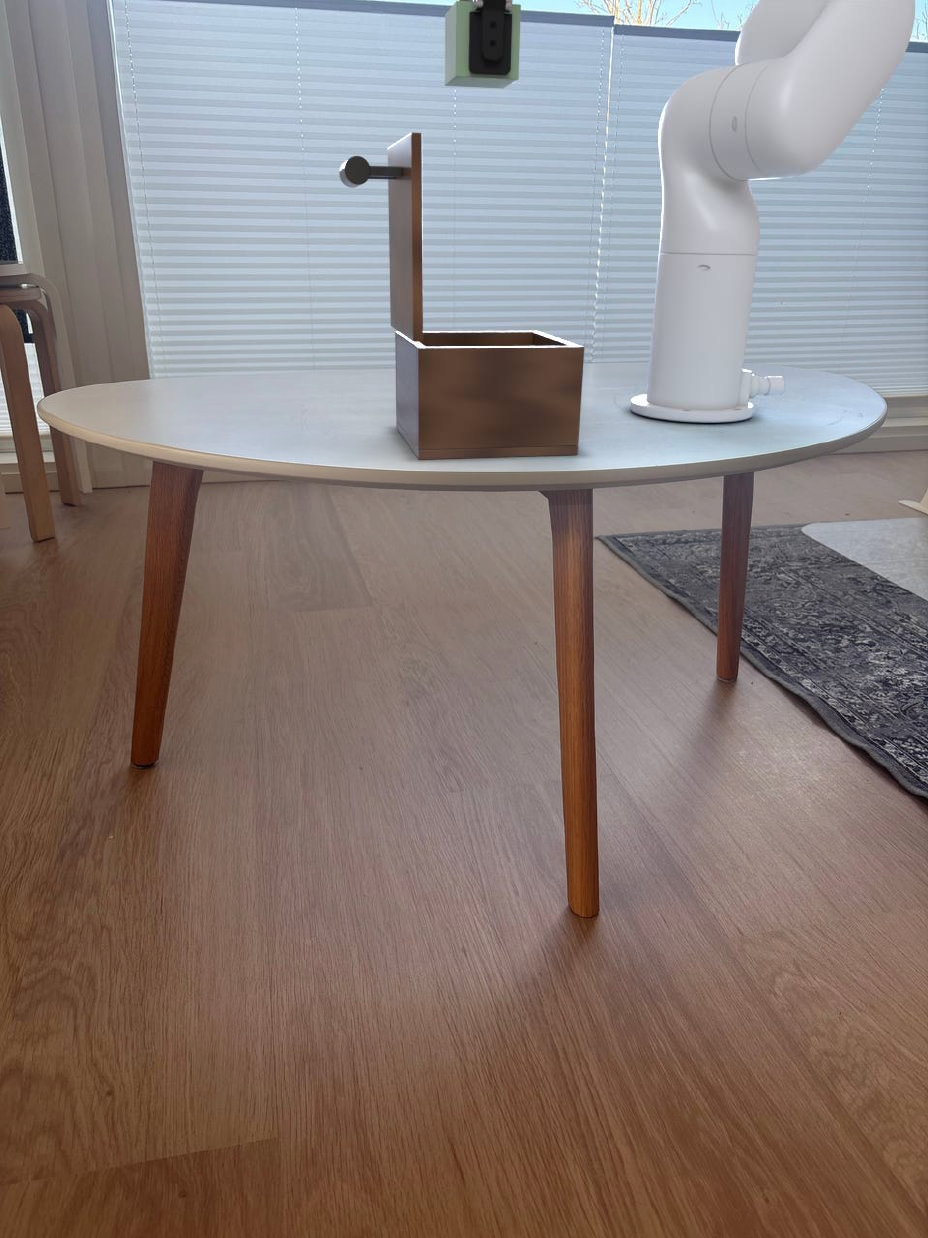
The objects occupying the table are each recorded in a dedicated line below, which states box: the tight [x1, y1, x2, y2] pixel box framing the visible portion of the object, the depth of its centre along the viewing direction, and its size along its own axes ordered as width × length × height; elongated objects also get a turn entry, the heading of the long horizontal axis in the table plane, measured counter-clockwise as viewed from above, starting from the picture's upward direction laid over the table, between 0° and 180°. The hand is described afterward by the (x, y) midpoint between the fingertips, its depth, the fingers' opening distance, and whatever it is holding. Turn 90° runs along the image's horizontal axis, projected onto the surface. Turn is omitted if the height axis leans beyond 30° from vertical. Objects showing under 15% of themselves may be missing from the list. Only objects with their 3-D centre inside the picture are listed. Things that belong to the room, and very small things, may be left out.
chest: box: [394, 330, 585, 461], centre depth 82 cm, size 14×14×9 cm
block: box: [444, 0, 522, 90], centre depth 73 cm, size 5×5×5 cm
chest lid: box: [338, 131, 424, 342], centre depth 75 cm, size 14×14×5 cm
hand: (481, 76), depth 74 cm, fingers closed on block, 5 cm apart
